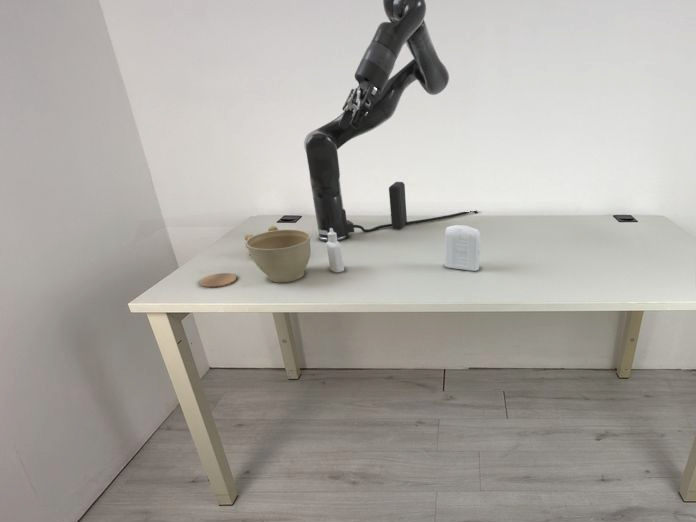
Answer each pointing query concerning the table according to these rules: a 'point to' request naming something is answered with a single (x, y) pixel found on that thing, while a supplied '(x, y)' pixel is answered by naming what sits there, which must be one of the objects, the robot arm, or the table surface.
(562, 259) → the table surface
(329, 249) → the eye dropper bottle
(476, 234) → the white arched tombstone
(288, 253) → the planter bowl
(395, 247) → the table surface
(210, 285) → the cork coaster
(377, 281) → the table surface
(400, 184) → the card reader
